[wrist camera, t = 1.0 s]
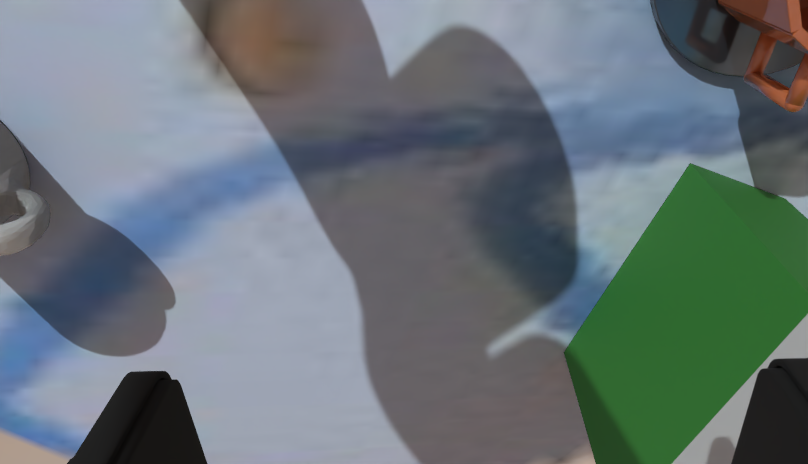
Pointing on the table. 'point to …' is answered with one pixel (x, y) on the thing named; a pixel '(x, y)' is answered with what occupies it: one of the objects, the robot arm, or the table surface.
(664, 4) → the saucer
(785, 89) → the wooden mug
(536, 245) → the table surface
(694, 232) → the hardback book
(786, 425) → the robot arm
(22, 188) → the coffee mug
